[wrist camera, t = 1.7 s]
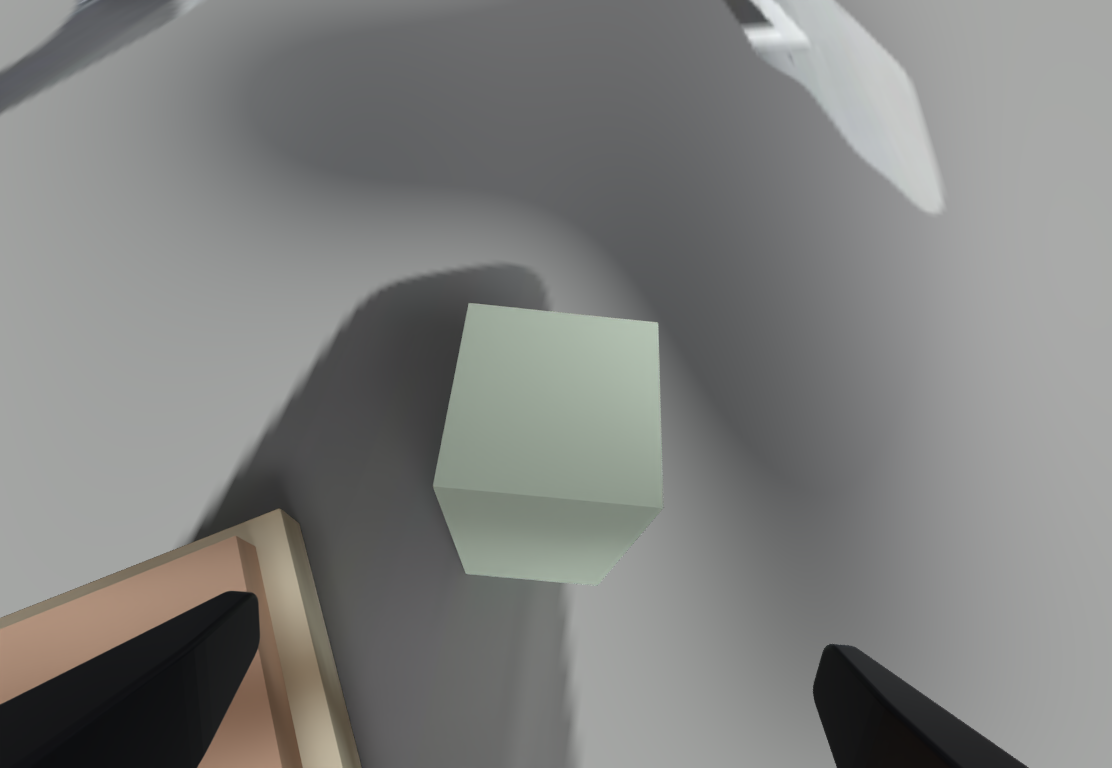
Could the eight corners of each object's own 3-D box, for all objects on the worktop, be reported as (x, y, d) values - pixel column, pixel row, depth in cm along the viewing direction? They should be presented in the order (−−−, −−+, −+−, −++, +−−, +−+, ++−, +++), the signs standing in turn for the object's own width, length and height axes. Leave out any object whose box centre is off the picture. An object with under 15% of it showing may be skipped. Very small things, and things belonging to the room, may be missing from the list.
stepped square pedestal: (385, 858, 16) (355, 898, 13) (-66, 1128, 13) (-244, 1263, 10) (299, 523, 20) (262, 494, 17) (-47, 663, 17) (-164, 657, 14)
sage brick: (597, 585, 20) (663, 507, 12) (466, 573, 20) (432, 486, 11) (601, 462, 23) (657, 322, 14) (484, 451, 23) (468, 302, 14)
